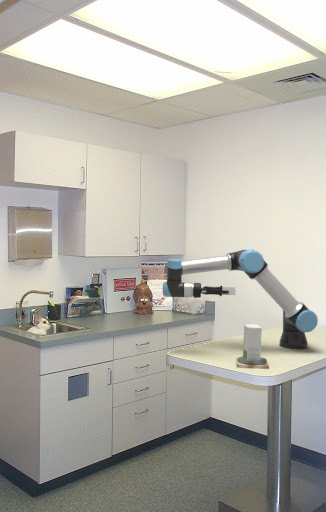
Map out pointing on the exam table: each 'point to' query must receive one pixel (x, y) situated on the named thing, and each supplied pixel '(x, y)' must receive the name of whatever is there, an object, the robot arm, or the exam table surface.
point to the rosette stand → (252, 363)
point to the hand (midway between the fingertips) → (235, 291)
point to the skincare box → (252, 342)
